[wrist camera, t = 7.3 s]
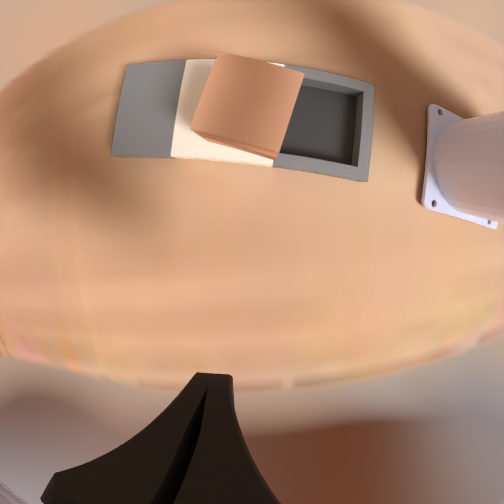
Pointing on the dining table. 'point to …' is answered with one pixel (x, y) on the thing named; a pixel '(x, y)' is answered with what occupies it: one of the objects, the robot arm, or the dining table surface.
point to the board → (195, 147)
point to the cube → (247, 104)
